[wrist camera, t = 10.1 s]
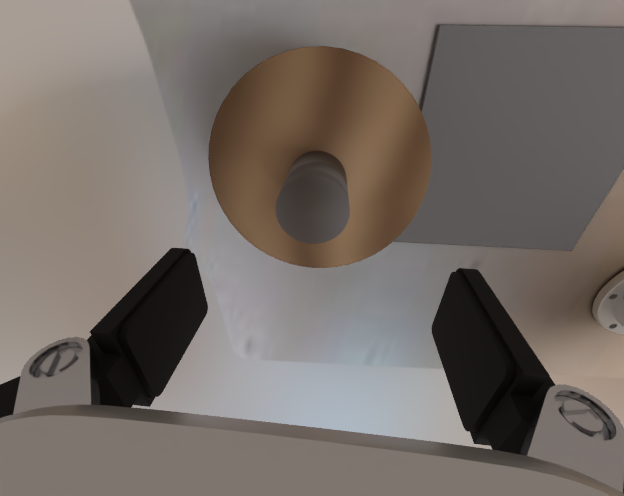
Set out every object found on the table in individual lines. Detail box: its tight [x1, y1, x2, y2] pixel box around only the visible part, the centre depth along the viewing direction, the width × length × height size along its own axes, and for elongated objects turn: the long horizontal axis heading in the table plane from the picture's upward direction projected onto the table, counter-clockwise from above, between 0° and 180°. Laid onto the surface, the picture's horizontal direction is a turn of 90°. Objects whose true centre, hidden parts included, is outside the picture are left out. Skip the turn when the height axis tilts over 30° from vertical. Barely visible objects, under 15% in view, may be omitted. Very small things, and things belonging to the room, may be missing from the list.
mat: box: [394, 25, 624, 251], centre depth 26 cm, size 19×19×1 cm
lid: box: [209, 46, 432, 268], centre depth 17 cm, size 15×15×6 cm
